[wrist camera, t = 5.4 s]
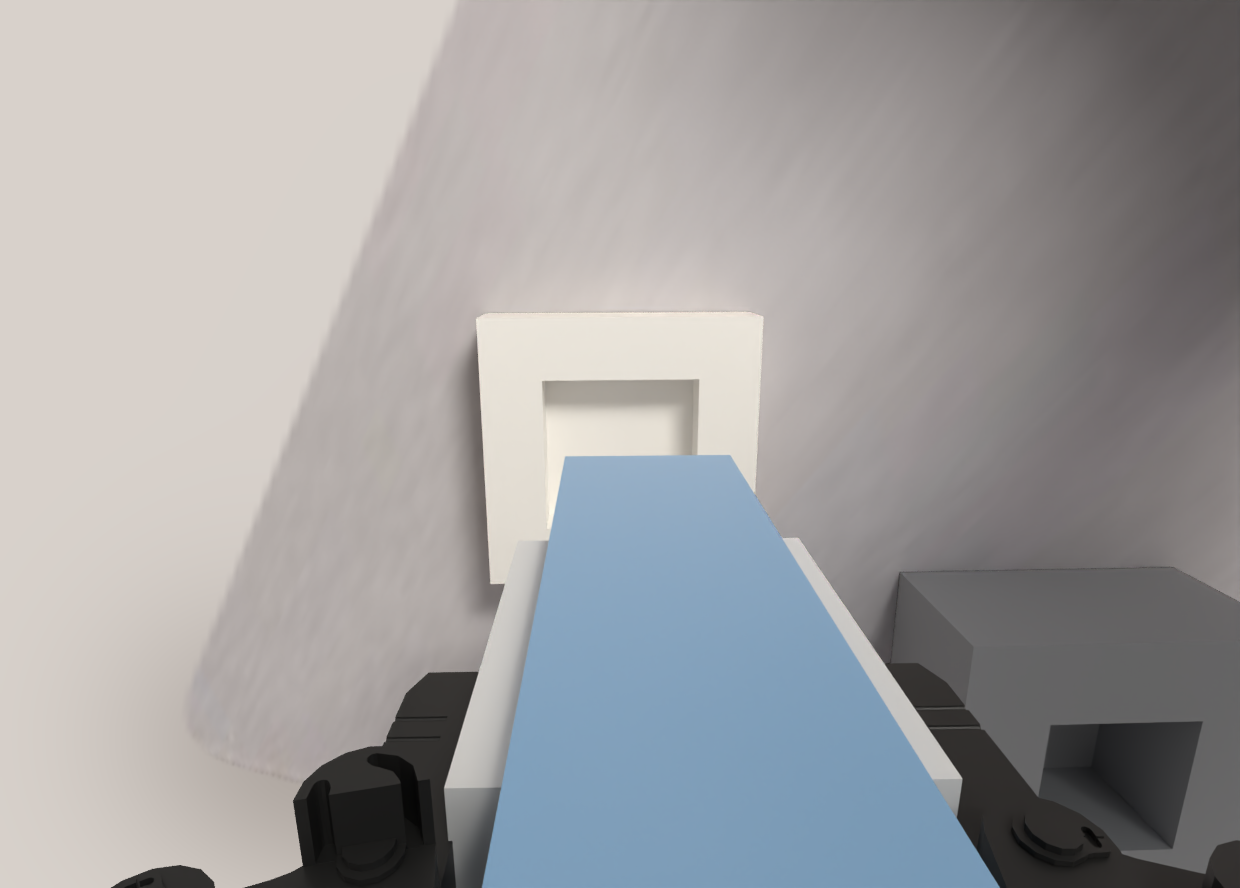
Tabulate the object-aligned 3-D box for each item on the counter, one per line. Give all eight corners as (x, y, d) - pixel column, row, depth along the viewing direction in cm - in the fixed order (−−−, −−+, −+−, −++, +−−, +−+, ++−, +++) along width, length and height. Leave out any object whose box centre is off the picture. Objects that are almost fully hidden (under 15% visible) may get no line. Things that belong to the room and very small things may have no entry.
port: (900, 572, 30) (981, 654, 24) (1173, 567, 30) (1325, 647, 24) (875, 807, 33) (941, 936, 27) (1124, 800, 33) (1247, 925, 27)
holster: (486, 313, 27) (475, 318, 24) (748, 311, 27) (763, 316, 24) (499, 557, 29) (490, 584, 27) (738, 553, 29) (750, 579, 27)
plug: (564, 456, 17) (408, 1260, 3) (730, 455, 17) (1217, 1236, 3) (568, 606, 18) (461, 1674, 4) (723, 604, 18) (1081, 1650, 5)
